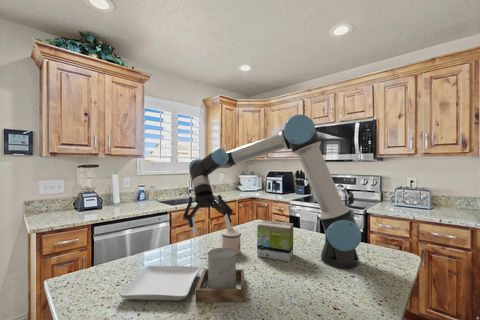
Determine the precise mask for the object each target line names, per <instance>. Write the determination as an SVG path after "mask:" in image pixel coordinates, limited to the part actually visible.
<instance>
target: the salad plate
mask: <svg viewBox="0 0 480 320" xmlns="http://www.w3.org/2000/svg"><path fill="white" fill-rule="evenodd" d="M200 270H201V267H200V266H192V265H147V266H146V267H145V268H143V269H142V271H141V272H139V273H138V274H137V275H136V276H135V278H134V279H133V280H132V281H131V282H129V284H127V286H125V288H124V289H122V290H121V291H120V293H119V296H120V297H121V298H123V299H126V300H140V301H141V300H142V301H181V300H184V299H186V298H187V297H188V295H189V293H190V290H191V288H192V285H193V283H194V281H195V278H197V275H198V274H199V272H200Z"/></svg>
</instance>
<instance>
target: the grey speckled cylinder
mask: <svg viewBox="0 0 480 320" xmlns="http://www.w3.org/2000/svg"><path fill="white" fill-rule="evenodd" d="M207 252H208V253H207V256H208V257H207V261H208V262H207V269H208V280H207V289H237V287H236V286H237V280H236V269H237V265H236V263H237V255H236V251H235V250H233V249H230V248H222V247H216V248H212V249H210V250H209V251H207Z"/></svg>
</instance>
